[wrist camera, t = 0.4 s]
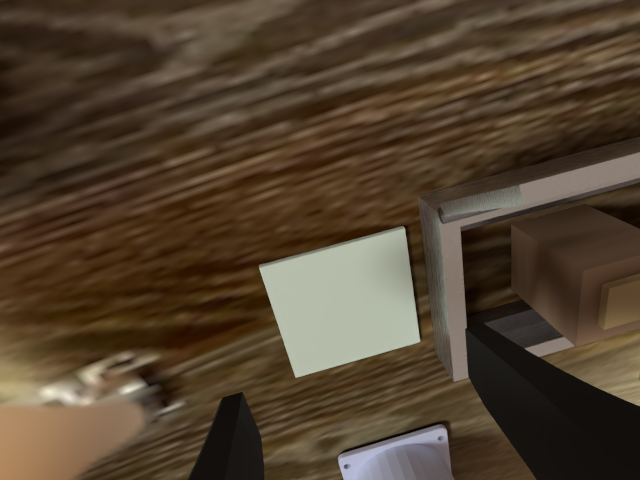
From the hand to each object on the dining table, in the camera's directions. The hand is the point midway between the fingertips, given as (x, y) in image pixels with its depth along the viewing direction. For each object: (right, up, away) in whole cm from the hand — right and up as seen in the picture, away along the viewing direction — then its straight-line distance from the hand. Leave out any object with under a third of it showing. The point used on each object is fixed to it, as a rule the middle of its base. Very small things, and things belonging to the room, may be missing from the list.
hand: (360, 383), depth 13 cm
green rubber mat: (0, +1, +11) cm, 11 cm away
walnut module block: (+12, +4, +11) cm, 17 cm away
